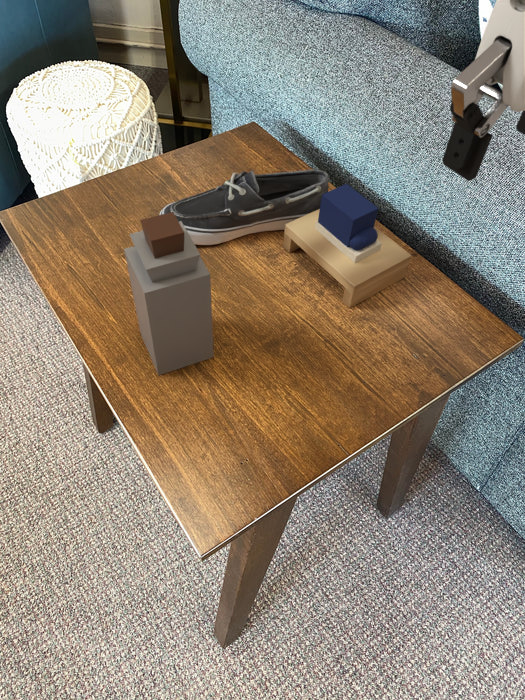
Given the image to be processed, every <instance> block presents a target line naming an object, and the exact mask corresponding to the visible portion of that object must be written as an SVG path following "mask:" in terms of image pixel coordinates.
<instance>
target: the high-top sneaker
mask: <svg viewBox="0 0 525 700" xmlns="http://www.w3.org/2000/svg"><path fill="white" fill-rule="evenodd" d="M378 212H379V207H378V206H376V204H374V203H373V202H371V201H370V200H369V199H367V198H366V197H365V196H364V195H362V194H361V193H360V192H358V191H357V190H356V189H354V188H353V187H352V186H351V185H349V184H348V183H345V184H343V185H341V186H338V187H336V188H333V189H330V190H328V192H327V193H324V194H322V198H321V204H320V211H319V217H318V221H317V222H316V225H315V229H316V230H317V231H318V232H319V233H320V234H322V235H323V236H324V237H325V238H326V239H327V240H328V241H330V242H331V243H332V244H333V245H334V246H335V247H337V248H338V249H339V250H340V251H341V252H342V253H344V254H345V255H346V256H347V257H348V258H349V259H350V260H352V261H353V262H354V263H356V262H358V261H360V260H362V259H364V258H366V257H368V256H370V255H372V254H374V253H375V252H377V251H379V250H380V249H381V245H382V243H381V242H380V241H379V240H378V239H377V237H378V233H377V231H376V230H375V229H374V226H376V225H375V224H376V221H377V216H378V214H379V213H378Z"/></svg>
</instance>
